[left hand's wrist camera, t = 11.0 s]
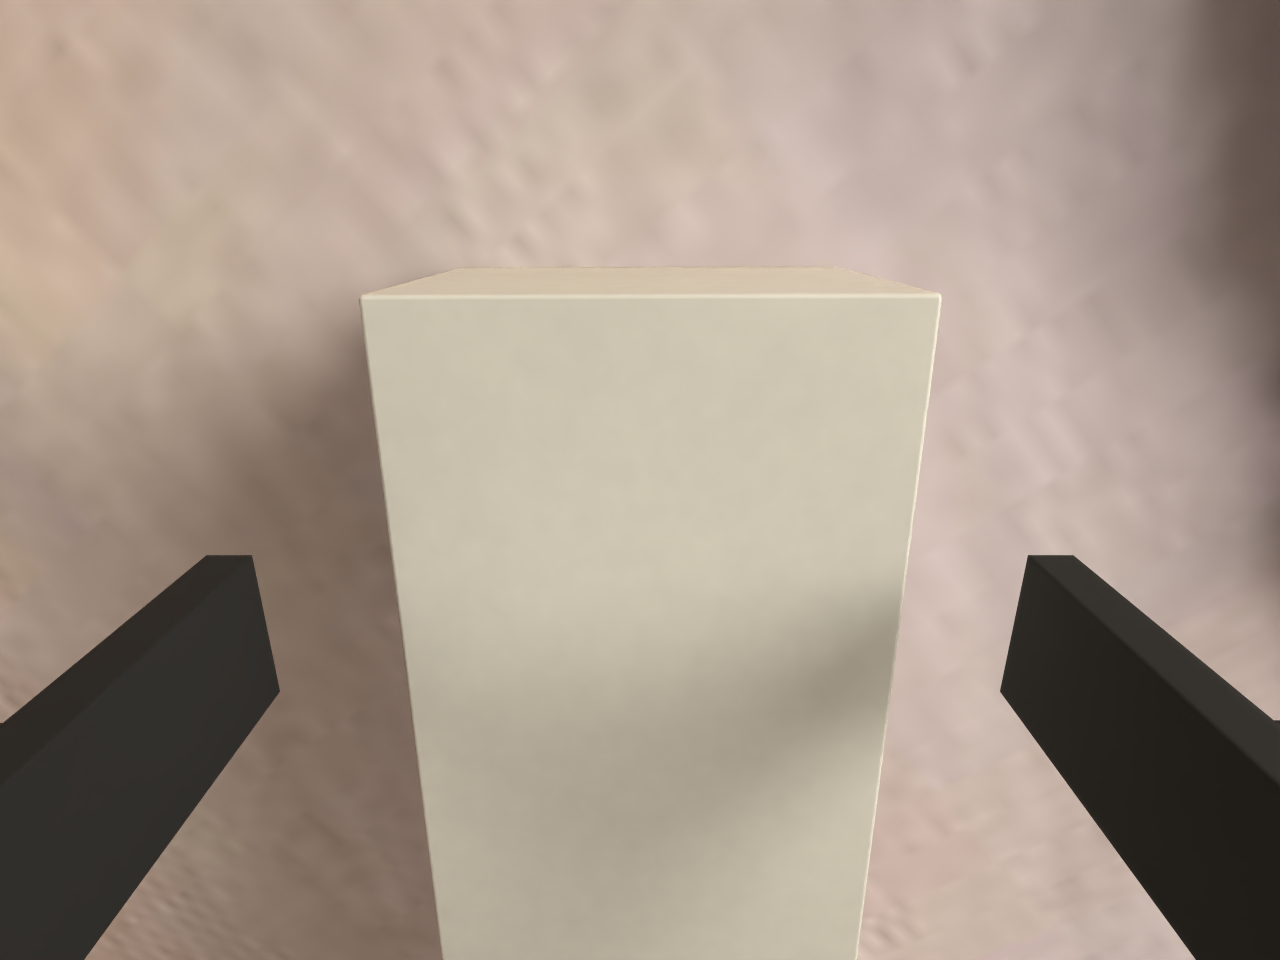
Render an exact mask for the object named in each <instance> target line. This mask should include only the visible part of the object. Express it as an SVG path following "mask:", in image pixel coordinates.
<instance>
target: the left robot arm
mask: <svg viewBox="0 0 1280 960" xmlns="http://www.w3.org/2000/svg"><path fill="white" fill-rule="evenodd" d="M279 692H280V689H279V685H278V680H277V675H276V670H275V665H274V660H273V655H272V651H271V646H270V641H269V636H268V631H267V626H266V621H265V616H264V612H263V607H262V602H261V597H260V592H259V587H258V582H257V578H256V573H255V568H254V563H253V558H252V555H206V556H205V557H204V558H203V559H202V560H200V561H199V562H198V563H197V564H196V565H194V566H193V567H192V568H191V569H190V570H188V571H187V572H186V573H185V574H183V575H182V576H181V577H180V578H179V579H177V580H176V581H175V582H174V583H173V584H171V585H170V586H169V587H168V588H166V589H165V590H164V591H163V592H162V593H160V594H159V595H158V596H157V597H156V598H154V599H153V600H152V601H151V602H149V603H148V604H147V605H146V606H145V607H143V608H142V609H141V610H140V611H139V612H137V613H136V614H135V615H134V616H132V617H131V618H130V619H129V620H128V621H126V622H125V623H124V624H123V625H122V626H120V627H119V628H118V629H117V630H115V631H114V632H113V633H112V634H111V635H109V636H108V637H107V638H106V639H105V640H103V641H102V642H101V643H100V644H98V645H97V646H96V647H95V648H94V649H92V650H91V651H90V652H89V653H88V654H86V655H85V656H84V657H83V658H82V659H80V660H79V661H78V662H77V663H75V664H74V665H73V666H72V667H71V668H69V669H68V670H67V671H66V672H65V673H63V674H62V675H61V676H60V677H58V678H57V679H56V680H55V681H54V682H52V683H51V684H50V685H49V686H48V687H46V688H45V689H44V690H43V691H41V692H40V693H39V694H38V695H37V696H35V697H34V698H33V699H32V700H31V701H29V702H28V703H27V704H26V705H24V706H23V707H22V708H21V709H20V710H18V711H17V712H16V713H15V714H14V715H12V716H11V717H10V718H9V719H7V720H6V721H5V722H4V723H0V960H84V959H85V958H86V956H87V955H88V954H89V952H90V951H91V949H92V948H93V947H94V945H95V944H96V943H97V941H98V940H99V939H100V937H101V936H102V934H103V933H104V932H105V930H106V929H107V928H108V926H109V925H110V923H111V922H112V921H113V919H114V918H115V917H116V915H117V914H118V912H119V911H120V910H121V908H122V907H123V906H124V904H125V903H126V902H127V900H128V899H129V897H130V896H131V895H132V893H133V892H134V891H135V889H136V888H137V886H138V885H139V884H140V882H141V881H142V880H143V878H144V877H145V876H146V874H147V873H148V871H149V870H150V869H151V867H152V866H153V865H154V863H155V862H156V860H157V859H158V858H159V856H160V855H161V854H162V852H163V851H164V849H165V848H166V847H167V845H168V844H169V843H170V841H171V840H172V839H173V837H174V836H175V834H176V833H177V832H178V830H179V829H180V828H181V826H182V825H183V823H184V822H185V821H186V819H187V818H188V817H189V815H190V814H191V813H192V811H193V810H194V808H195V807H196V806H197V804H198V803H199V802H200V800H201V799H202V797H203V796H204V795H205V793H206V792H207V791H208V789H209V788H210V786H211V785H212V784H213V782H214V781H215V780H216V778H217V777H218V776H219V774H220V773H221V771H222V770H223V769H224V767H225V766H226V765H227V763H228V762H229V760H230V759H231V758H232V756H233V755H234V754H235V752H236V751H237V750H238V748H239V747H240V745H241V744H242V743H243V741H244V740H245V739H246V737H247V736H248V734H249V733H250V732H251V730H252V729H253V728H254V726H255V725H256V723H257V722H258V721H259V719H260V718H261V717H262V715H263V714H264V713H265V711H266V710H267V708H268V707H269V706H270V704H271V703H272V702H273V700H274V699H275V697H276V696H277V695H278V693H279ZM1000 692H1001V693H1002V695H1003V696H1004V697H1005V699H1006V700H1007V702H1008V703H1009V704H1010V706H1011V707H1012V708H1013V710H1014V711H1015V713H1016V714H1017V715H1018V717H1019V718H1020V719H1021V721H1022V722H1023V723H1024V725H1025V726H1026V728H1027V729H1028V730H1029V732H1030V733H1031V734H1032V736H1033V737H1034V739H1035V740H1036V741H1037V743H1038V744H1039V745H1040V747H1041V748H1042V750H1043V751H1044V752H1045V754H1046V755H1047V756H1048V758H1049V759H1050V760H1051V762H1052V763H1053V765H1054V766H1055V767H1056V769H1057V770H1058V771H1059V773H1060V774H1061V776H1062V777H1063V778H1064V780H1065V781H1066V782H1067V784H1068V785H1069V786H1070V788H1071V789H1072V791H1073V792H1074V793H1075V795H1076V796H1077V797H1078V799H1079V800H1080V802H1081V803H1082V804H1083V806H1084V807H1085V808H1086V810H1087V811H1088V813H1089V814H1090V815H1091V817H1092V818H1093V819H1094V821H1095V822H1096V823H1097V825H1098V826H1099V828H1100V829H1101V830H1102V832H1103V833H1104V834H1105V836H1106V837H1107V839H1108V840H1109V841H1110V843H1111V844H1112V845H1113V847H1114V848H1115V849H1116V851H1117V852H1118V854H1119V855H1120V856H1121V858H1122V859H1123V860H1124V862H1125V863H1126V865H1127V866H1128V867H1129V869H1130V870H1131V871H1132V873H1133V874H1134V876H1135V877H1136V878H1137V880H1138V881H1139V882H1140V884H1141V885H1142V886H1143V888H1144V889H1145V891H1146V892H1147V893H1148V895H1149V896H1150V897H1151V899H1152V900H1153V902H1154V903H1155V904H1156V906H1157V907H1158V908H1159V910H1160V911H1161V912H1162V914H1163V915H1164V917H1165V918H1166V919H1167V921H1168V922H1169V923H1170V925H1171V926H1172V928H1173V929H1174V930H1175V932H1176V933H1177V934H1178V936H1179V937H1180V939H1181V940H1182V941H1183V943H1184V944H1185V945H1186V947H1187V948H1188V949H1189V951H1190V952H1191V954H1192V955H1193V956H1194V958H1195V959H1196V960H1280V720H1273V719H1271V718H1270V717H1269V716H1268V715H1266V714H1265V713H1264V712H1263V711H1262V710H1260V709H1259V708H1258V707H1257V706H1256V705H1254V704H1253V703H1252V702H1251V701H1249V700H1248V699H1247V698H1246V697H1245V696H1243V695H1242V694H1241V693H1240V692H1239V691H1237V690H1236V689H1235V688H1234V687H1232V686H1231V685H1230V684H1229V683H1228V682H1226V681H1225V680H1224V679H1223V678H1222V677H1220V676H1219V675H1218V674H1217V673H1215V672H1214V671H1213V670H1212V669H1211V668H1209V667H1208V666H1207V665H1206V664H1205V663H1203V662H1202V661H1201V660H1200V659H1198V658H1197V657H1196V656H1195V655H1194V654H1192V653H1191V652H1190V651H1189V650H1188V649H1186V648H1185V647H1184V646H1183V645H1182V644H1180V643H1179V642H1178V641H1177V640H1175V639H1174V638H1173V637H1172V636H1171V635H1169V634H1168V633H1167V632H1166V631H1165V630H1163V629H1162V628H1161V627H1160V626H1158V625H1157V624H1156V623H1155V622H1154V621H1152V620H1151V619H1150V618H1149V617H1148V616H1146V615H1145V614H1144V613H1143V612H1141V611H1140V610H1139V609H1138V608H1137V607H1135V606H1134V605H1133V604H1132V603H1131V602H1129V601H1128V600H1127V599H1126V598H1124V597H1123V596H1122V595H1121V594H1120V593H1118V592H1117V591H1116V590H1115V589H1114V588H1112V587H1111V586H1110V585H1109V584H1107V583H1106V582H1105V581H1104V580H1103V579H1101V578H1100V577H1099V576H1098V575H1097V574H1095V573H1094V572H1093V571H1092V570H1090V569H1089V568H1088V567H1087V566H1086V565H1084V564H1083V563H1082V562H1081V561H1080V560H1078V559H1077V558H1076V557H1075V556H1074V555H1028V558H1027V563H1026V568H1025V573H1024V578H1023V582H1022V587H1021V592H1020V597H1019V602H1018V607H1017V612H1016V616H1015V621H1014V626H1013V631H1012V636H1011V641H1010V646H1009V650H1008V655H1007V660H1006V665H1005V670H1004V675H1003V680H1002V685H1001V689H1000Z"/></svg>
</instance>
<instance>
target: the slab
mask: <svg viewBox="0 0 1280 960" xmlns="http://www.w3.org/2000/svg"><path fill="white" fill-rule="evenodd" d="M941 301H942V297H941V294H939V293H936V292H932V291H928V290H924V289H921V288H917V287H913V286H909V285H905V284H901V283H897V282H894V281H890V280H886V279H882V278H878V277H874V276H871V275H867V274H863V273H859V272H855V271H851V270H847V269H844V268H840V267H659V268H458V269H455V270H451V271H447V272H444V273H440V274H436V275H433V276H429V277H425V278H422V279H418V280H414V281H411V282H407V283H403V284H400V285H396V286H392V287H389V288H385V289H381V290H378V291H374V292H370V293H367V294H363V295H361V296H360V298H359V304H360V312H361V320H362V328H363V336H364V344H365V352H366V359H367V367H368V375H369V383H370V391H371V399H372V407H373V415H374V423H375V431H376V439H377V447H378V454H379V462H380V470H381V478H382V486H383V494H384V502H385V510H386V518H387V526H388V534H389V542H390V549H391V557H392V565H393V573H394V581H395V589H396V597H397V605H398V613H399V621H400V629H401V637H402V644H403V652H404V660H405V668H406V676H407V684H408V692H409V700H410V708H411V716H412V724H413V732H414V739H415V747H416V755H417V763H418V771H419V779H420V787H421V795H422V803H423V811H424V819H425V827H426V834H427V842H428V850H429V858H430V866H431V874H432V882H433V890H434V898H435V906H436V914H437V922H438V929H439V937H440V945H441V953H442V960H857V952H858V945H859V937H860V929H861V921H862V914H863V906H864V898H865V890H866V883H867V875H868V867H869V859H870V852H871V844H872V836H873V828H874V821H875V813H876V805H877V797H878V790H879V782H880V774H881V766H882V759H883V751H884V743H885V735H886V728H887V720H888V712H889V704H890V697H891V689H892V681H893V673H894V665H895V658H896V650H897V642H898V634H899V627H900V619H901V611H902V603H903V596H904V588H905V580H906V572H907V565H908V557H909V549H910V541H911V534H912V526H913V518H914V510H915V503H916V495H917V487H918V479H919V472H920V464H921V456H922V448H923V441H924V433H925V425H926V417H927V410H928V402H929V394H930V386H931V379H932V371H933V363H934V355H935V348H936V340H937V332H938V324H939V316H940V309H941Z"/></svg>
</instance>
